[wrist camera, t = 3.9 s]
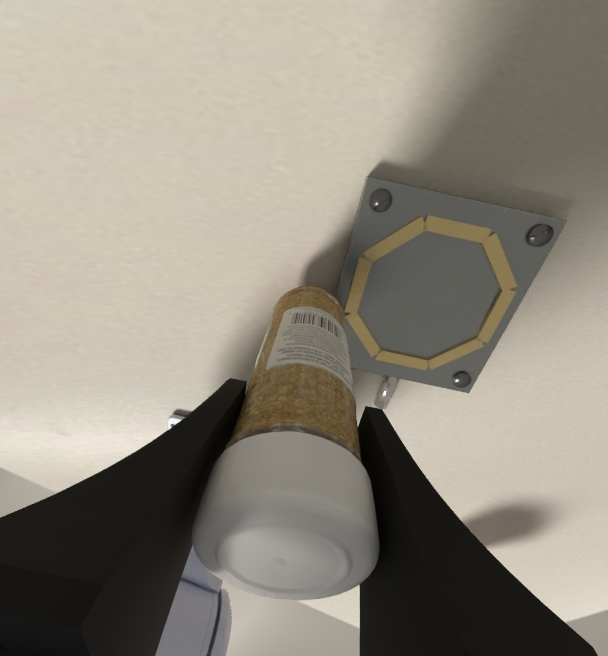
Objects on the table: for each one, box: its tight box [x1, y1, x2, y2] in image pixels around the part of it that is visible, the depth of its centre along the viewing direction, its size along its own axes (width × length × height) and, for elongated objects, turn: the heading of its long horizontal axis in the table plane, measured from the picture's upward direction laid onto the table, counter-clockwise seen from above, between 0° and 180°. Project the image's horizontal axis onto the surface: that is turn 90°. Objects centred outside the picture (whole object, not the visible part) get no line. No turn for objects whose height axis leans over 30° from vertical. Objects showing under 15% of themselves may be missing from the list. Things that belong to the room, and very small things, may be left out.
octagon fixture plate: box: [335, 177, 567, 409], centre depth 19 cm, size 15×11×1 cm
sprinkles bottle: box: [192, 286, 380, 600], centre depth 13 cm, size 5×5×14 cm
